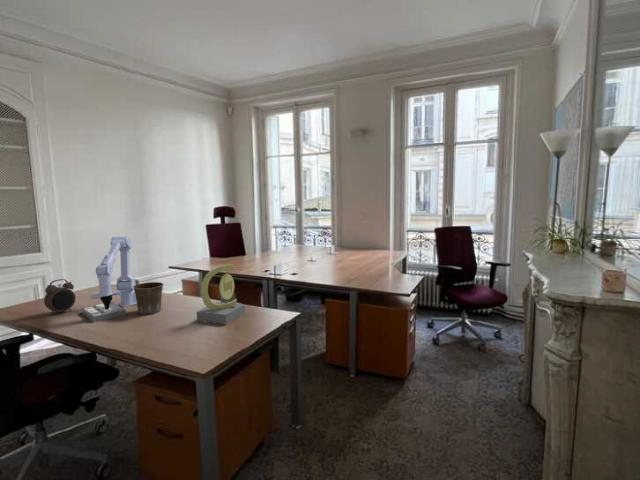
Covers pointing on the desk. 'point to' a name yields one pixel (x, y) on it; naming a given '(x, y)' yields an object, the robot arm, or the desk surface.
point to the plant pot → (148, 297)
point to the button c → (107, 310)
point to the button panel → (98, 315)
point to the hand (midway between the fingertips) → (107, 309)
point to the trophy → (220, 310)
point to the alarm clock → (59, 297)
